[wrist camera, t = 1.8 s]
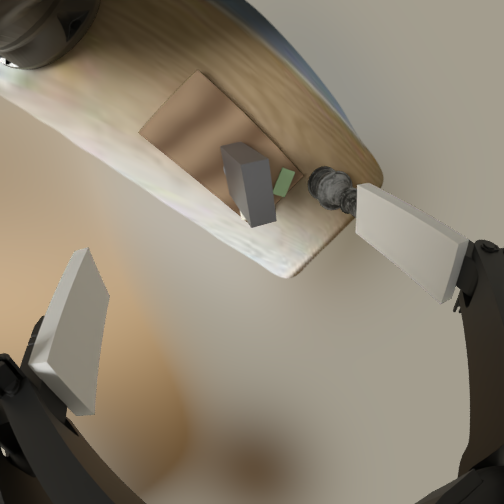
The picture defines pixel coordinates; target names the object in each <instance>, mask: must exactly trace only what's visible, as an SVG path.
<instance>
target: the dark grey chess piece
mask: <svg viewBox="0 0 504 504" xmlns="http://www.w3.org/2000/svg"><path fill="white" fill-rule="evenodd" d="M308 190H309V192H310V194H311V195H312V196H313V197H314V198H316V199H318V201H319V203H320V205H321V206H322V207H323V208H325V209H327V210H336V209H339V208H340V209H341V210H342V212H344V213H347V214H349V213H350V214H351V215H353V216H354V217H355V218H356V212H357V189H356V188H352V181H351V179H350V177H349V176H348V175H347V174H346V173H344V172H342V171H335V170H334V169H332V168H330V167H327V166H324V167H320V168H318V169H316V170H315V171H314V172H313V173H312V174H311V176H310V178H309V181H308Z"/></svg>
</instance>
